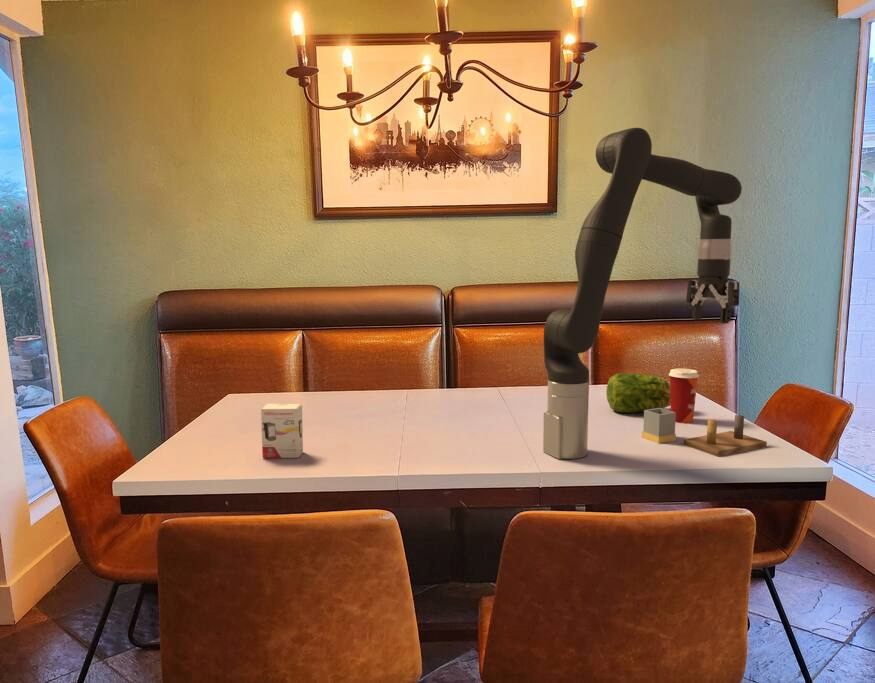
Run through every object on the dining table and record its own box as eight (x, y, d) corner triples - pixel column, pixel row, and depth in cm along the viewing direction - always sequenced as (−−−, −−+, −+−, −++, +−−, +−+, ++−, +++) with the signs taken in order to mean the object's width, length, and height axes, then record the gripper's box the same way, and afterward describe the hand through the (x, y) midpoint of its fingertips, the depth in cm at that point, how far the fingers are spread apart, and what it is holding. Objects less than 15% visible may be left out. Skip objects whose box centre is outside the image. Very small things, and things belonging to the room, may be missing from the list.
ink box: (261, 459, 139) (258, 408, 138) (267, 451, 144) (265, 403, 143) (299, 458, 139) (297, 408, 138) (304, 451, 144) (302, 403, 143)
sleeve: (658, 443, 147) (659, 415, 146) (641, 437, 152) (642, 410, 151) (675, 440, 150) (677, 412, 149) (658, 434, 155) (660, 407, 154)
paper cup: (699, 424, 163) (702, 373, 161) (669, 423, 164) (671, 372, 162) (693, 417, 170) (695, 368, 168) (664, 416, 172) (666, 367, 170)
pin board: (717, 456, 137) (719, 427, 136) (683, 444, 146) (684, 417, 145) (766, 446, 144) (768, 419, 143) (730, 435, 153) (732, 409, 152)
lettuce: (685, 416, 171) (687, 377, 169) (612, 417, 172) (613, 377, 170) (671, 406, 182) (673, 369, 181) (602, 407, 183) (603, 370, 181)
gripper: (681, 257, 158) (678, 319, 160) (727, 257, 145) (723, 325, 147) (702, 257, 161) (699, 318, 163) (749, 257, 148) (745, 323, 150)
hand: (710, 321), depth 155 cm, fingers open, 8 cm apart
